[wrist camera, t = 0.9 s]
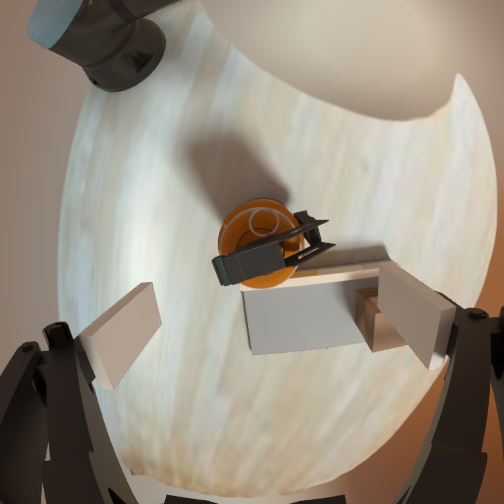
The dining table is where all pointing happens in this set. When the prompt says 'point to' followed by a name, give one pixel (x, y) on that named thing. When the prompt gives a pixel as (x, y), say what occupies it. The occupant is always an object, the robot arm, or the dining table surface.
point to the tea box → (375, 322)
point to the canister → (265, 244)
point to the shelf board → (309, 309)
